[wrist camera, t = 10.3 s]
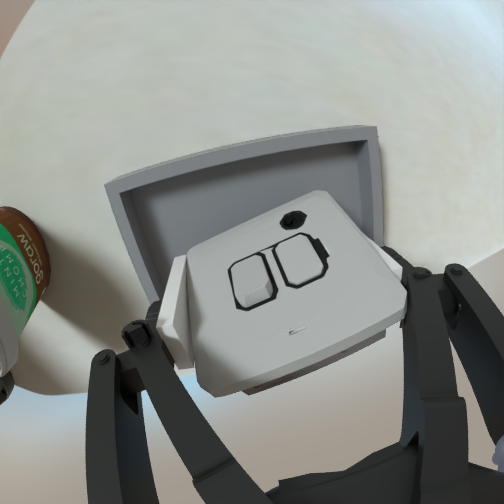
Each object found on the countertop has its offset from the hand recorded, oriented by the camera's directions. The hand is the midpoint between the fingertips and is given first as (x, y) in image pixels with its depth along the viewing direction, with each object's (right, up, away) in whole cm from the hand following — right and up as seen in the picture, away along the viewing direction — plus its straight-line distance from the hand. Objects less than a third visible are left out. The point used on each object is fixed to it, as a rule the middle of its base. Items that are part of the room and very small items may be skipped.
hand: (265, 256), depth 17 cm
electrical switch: (+1, 0, +1) cm, 1 cm away
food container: (-20, +1, +1) cm, 20 cm away
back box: (0, +1, +3) cm, 3 cm away
